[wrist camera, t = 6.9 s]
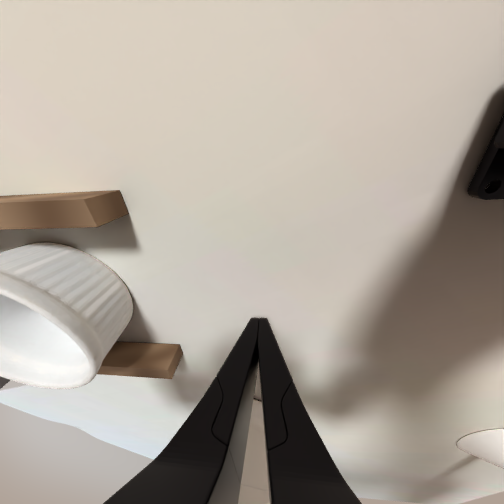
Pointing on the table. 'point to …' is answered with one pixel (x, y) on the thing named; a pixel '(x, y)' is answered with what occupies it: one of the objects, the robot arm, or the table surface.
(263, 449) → the jar
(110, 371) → the wooden u-shaped frame
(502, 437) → the champagne flute
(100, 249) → the table surface
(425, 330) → the table surface
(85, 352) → the ramekin
